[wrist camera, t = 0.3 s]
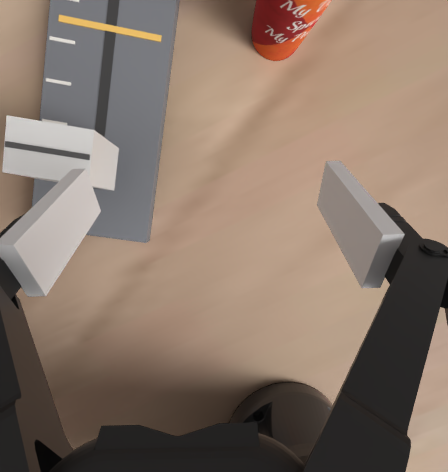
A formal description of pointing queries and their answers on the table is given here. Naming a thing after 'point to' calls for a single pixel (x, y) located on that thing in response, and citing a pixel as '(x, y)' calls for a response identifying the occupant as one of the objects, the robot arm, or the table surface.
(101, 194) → the gray slider panel
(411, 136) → the table surface
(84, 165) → the fader
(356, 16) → the table surface
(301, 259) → the table surface
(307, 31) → the paper cup
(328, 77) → the table surface
